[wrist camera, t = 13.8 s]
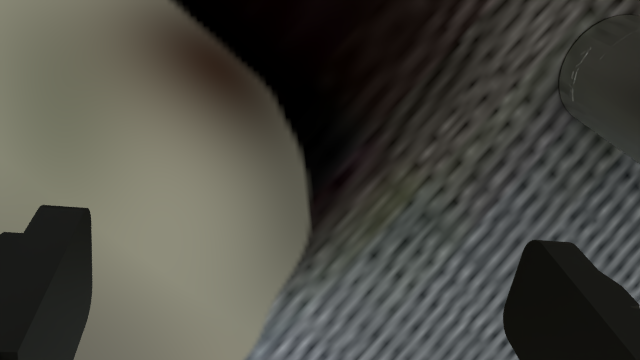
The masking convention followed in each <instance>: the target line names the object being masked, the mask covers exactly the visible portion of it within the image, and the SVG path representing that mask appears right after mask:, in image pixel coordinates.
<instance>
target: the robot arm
mask: <svg viewBox="0 0 640 360" xmlns="http://www.w3.org/2000/svg"><path fill="white" fill-rule="evenodd" d="M559 91H560V95H561V100H562V102H563V104H564V106H565V108H566V109H567V111H568V112H569V113H570V114H571V115H572V116H573V117H575V118H576V119H577V120H579V121H580V122H582V123H583V124H584V125H586V126H587V127H589V128H590V129H592V130H593V131H594V132H596V133H597V134H598V135H600V136H601V137H602V138H604V139H605V140H607V141H608V142H610V143H611V144H612V145H614V146H615V147H617V148H618V149H619V150H621V151H622V152H624V153H625V154H627V155H628V156H629V157H631V158H632V159H634V160H635V161H637V162H638V163H639V164H640V16H634V15H620V16H615V17H612V18H608V19H605V20H603V21H602V22H600V23H598V24H596V25H594V26H593V27H591V28H590V29H589V30H588V31H586V32H585V33H584V34H583V35H582V36H581V37H580V38H579V39H578V40H577V41H576V42H575V43H574V45H573V46H572V48H571V50H570V51H569V53H568V54H567V56H566V58H565V61H564V63H563V66H562V69H561V74H560V78H559ZM91 241H92V240H91V215H90V211H89V209H88V208H78V207H63V206H50V205H42V206H40V207H39V209H38V210H37V212H36V213H35V215H34V217H33V218H32V220H31V222H30V223H29V225H28V227H27V228H26V230H25V231H24V233H11V232H4V233H2V234H0V360H73V359H74V356H75V353H76V351H77V348H78V345H79V342H80V339H81V336H82V333H83V331H84V328H85V325H86V322H87V319H88V315H89V310H90V304H91V297H92V242H91ZM503 324H504V330H505V334H506V337H507V339H508V341H509V342H510V344H511V346H512V348H513V349H514V351H515V353H516V355H517V356H518V358H519V360H640V308H639V304H638V303H637V302H636V301H635V300H634V299H633V298H632V297H631V295H630V294H629V293H628V292H627V291H626V290H625V289H624V288H623V287H622V286H621V285H619V284H618V283H616V282H615V281H613V280H612V279H610V278H609V277H607V276H606V275H604V274H603V273H601V272H600V271H599V270H598V269H597V268H596V267H595V266H594V265H593V264H592V263H591V262H590V261H589V260H588V258H587V257H586V256H585V255H584V254H583V253H582V252H581V251H580V250H579V248H578V247H577V246H576V245H574V244H573V243H570V242H557V241H542V240H532V241H530V242H529V243H528V244H527V245H526V246H525V248H524V250H523V253H522V256H521V259H520V262H519V265H518V268H517V271H516V274H515V277H514V279H513V282H512V285H511V288H510V291H509V294H508V297H507V300H506V303H505V307H504V313H503Z"/></svg>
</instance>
